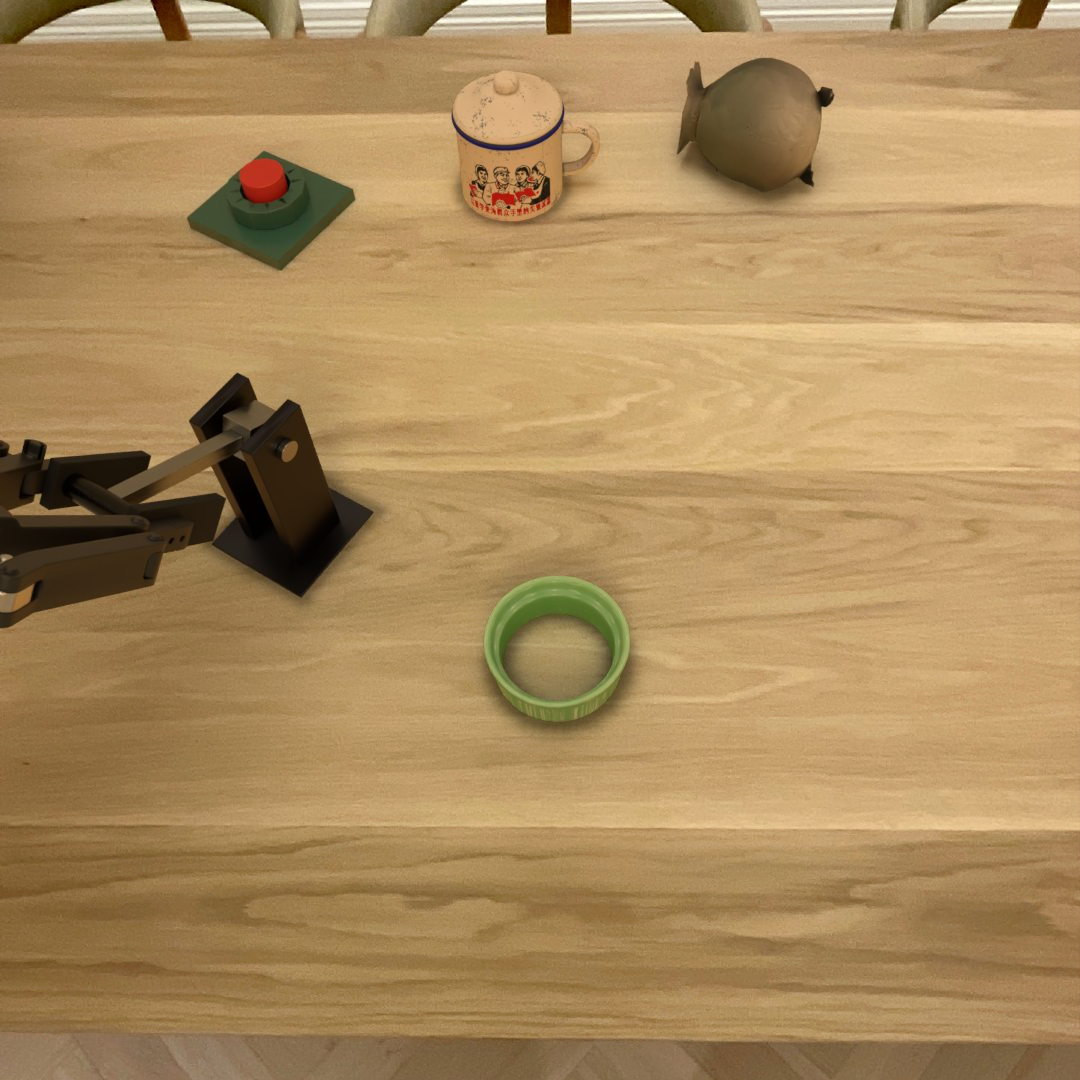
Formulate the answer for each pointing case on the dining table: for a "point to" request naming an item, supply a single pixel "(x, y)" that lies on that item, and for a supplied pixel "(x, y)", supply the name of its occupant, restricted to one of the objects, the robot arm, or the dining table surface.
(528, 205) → the teacup with lid
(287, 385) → the dining table surface
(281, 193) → the button
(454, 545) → the dining table surface
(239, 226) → the button box
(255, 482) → the bracket
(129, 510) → the robot arm
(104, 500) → the lever
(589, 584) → the ramekin
